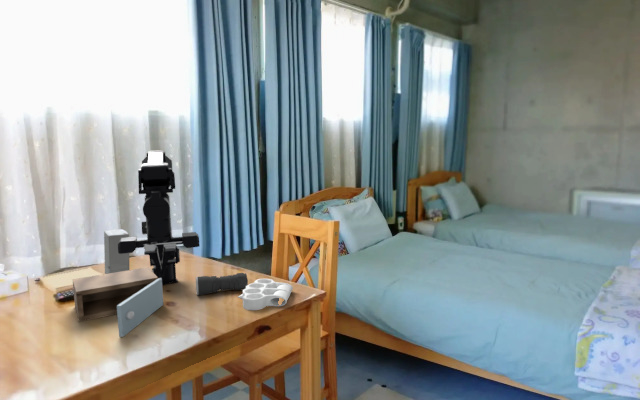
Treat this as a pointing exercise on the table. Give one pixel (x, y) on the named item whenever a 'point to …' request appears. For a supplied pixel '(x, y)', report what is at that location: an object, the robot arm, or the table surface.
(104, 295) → the cubby
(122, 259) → the skincare box
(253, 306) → the white multi-hole tray
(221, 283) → the flashlight
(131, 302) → the door
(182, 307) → the table surface
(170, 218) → the robot arm
